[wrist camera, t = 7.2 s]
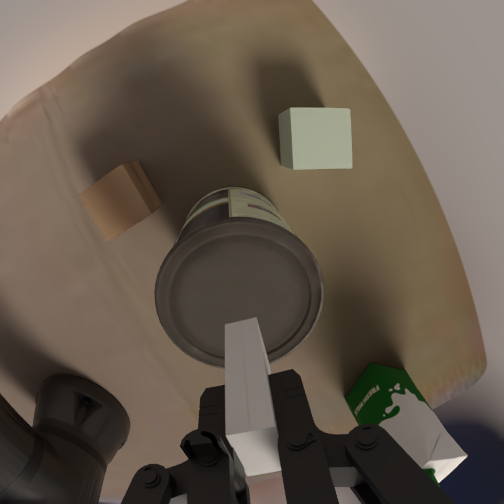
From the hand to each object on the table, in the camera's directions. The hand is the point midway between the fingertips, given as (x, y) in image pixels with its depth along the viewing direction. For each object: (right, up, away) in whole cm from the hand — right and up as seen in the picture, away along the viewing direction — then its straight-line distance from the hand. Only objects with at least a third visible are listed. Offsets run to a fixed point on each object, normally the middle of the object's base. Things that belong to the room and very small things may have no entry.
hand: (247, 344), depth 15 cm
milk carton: (+18, -15, +26) cm, 35 cm away
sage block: (+5, +15, +15) cm, 22 cm away
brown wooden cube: (-12, +10, +15) cm, 22 cm away
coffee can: (-2, +6, +18) cm, 19 cm away
